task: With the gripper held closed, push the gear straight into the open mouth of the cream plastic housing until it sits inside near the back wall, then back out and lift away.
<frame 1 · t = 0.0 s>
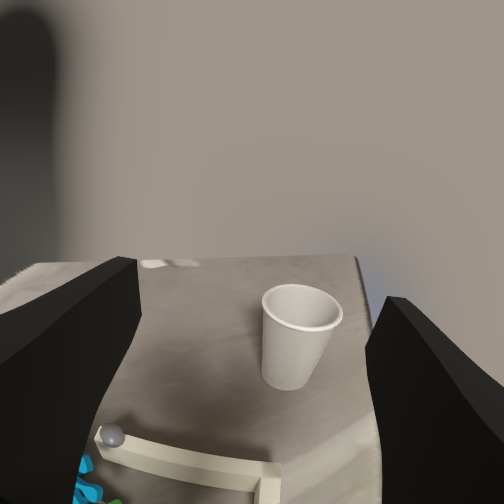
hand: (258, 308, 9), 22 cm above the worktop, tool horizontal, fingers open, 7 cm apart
gear: (69, 499, 16), on the worktop
dixie cup: (284, 374, 36), on the worktop
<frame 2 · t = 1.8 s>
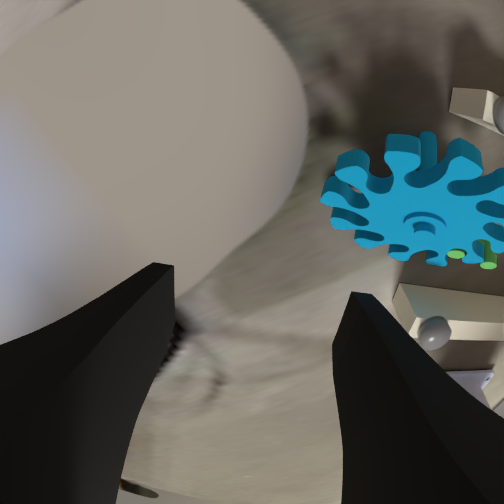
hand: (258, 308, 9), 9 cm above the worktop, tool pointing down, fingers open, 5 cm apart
gear: (405, 193, 16), on the worktop
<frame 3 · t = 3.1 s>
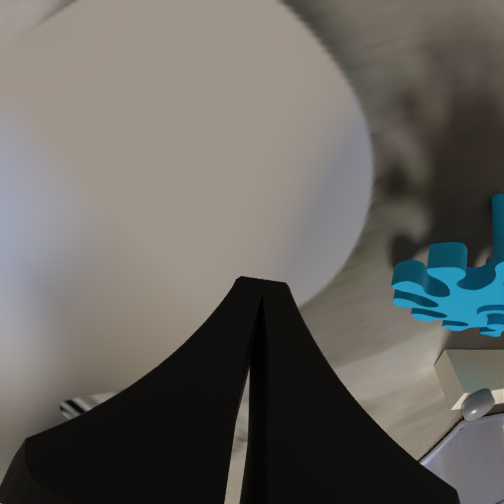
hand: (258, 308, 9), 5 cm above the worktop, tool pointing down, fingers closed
gear: (467, 258, 13), on the worktop
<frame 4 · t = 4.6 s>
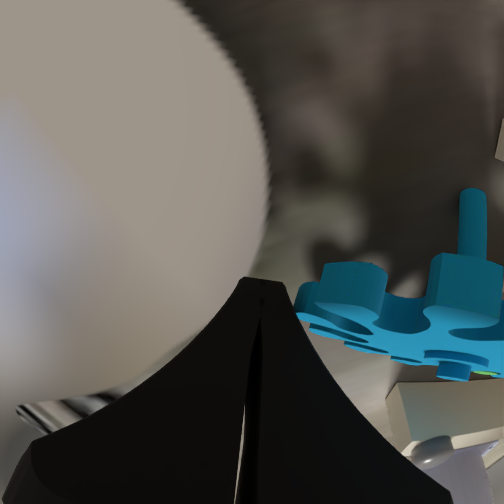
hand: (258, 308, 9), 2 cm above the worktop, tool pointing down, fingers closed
gear: (427, 274, 11), on the worktop, touching gripper
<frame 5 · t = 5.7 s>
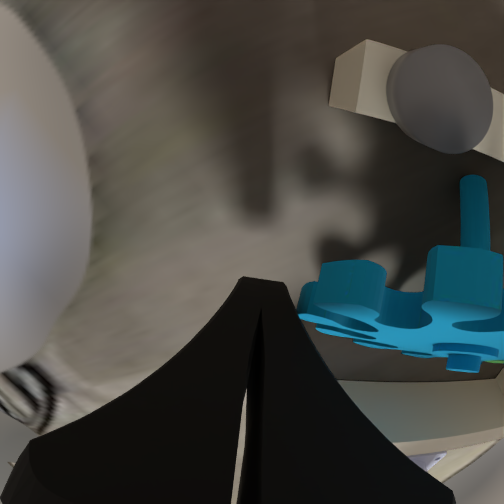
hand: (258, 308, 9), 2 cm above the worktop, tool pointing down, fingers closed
gear housing: (460, 292, 11), on the worktop
gear: (433, 266, 11), on the worktop, touching gripper
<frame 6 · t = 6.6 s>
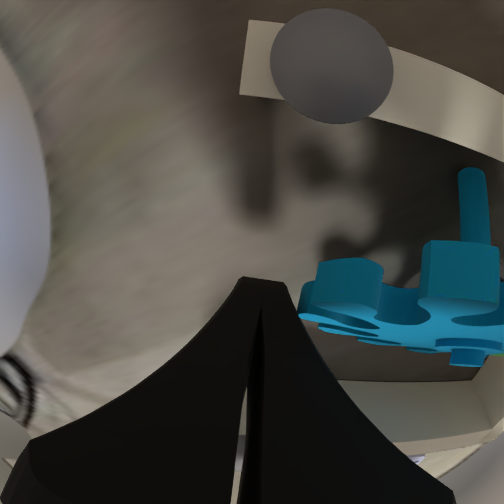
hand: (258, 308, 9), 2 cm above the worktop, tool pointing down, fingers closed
gear housing: (419, 287, 11), on the worktop
gear: (434, 260, 11), on the worktop, touching gripper
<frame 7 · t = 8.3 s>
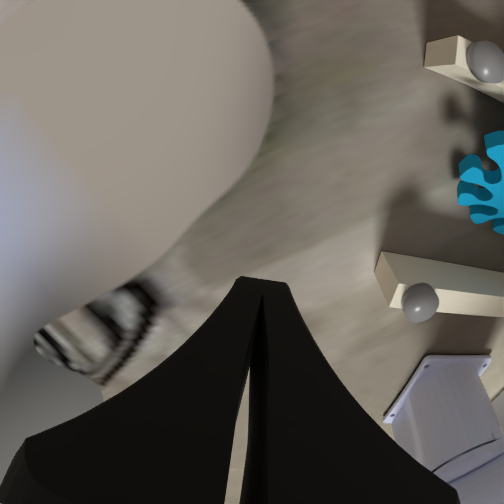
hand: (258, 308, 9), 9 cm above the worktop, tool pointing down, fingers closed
gear housing: (496, 190, 15), on the worktop
gear: (502, 172, 15), on the worktop
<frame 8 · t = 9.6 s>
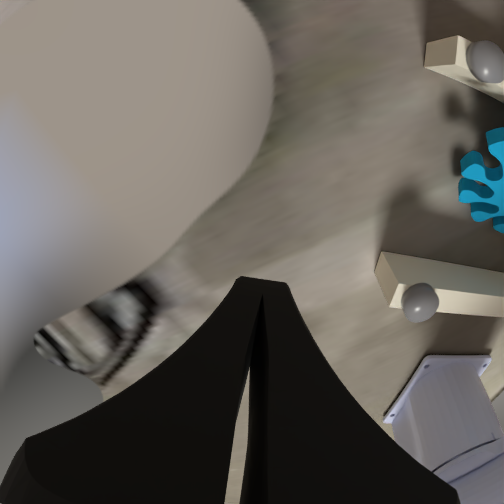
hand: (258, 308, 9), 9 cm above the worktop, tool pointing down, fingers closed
gear housing: (496, 190, 15), on the worktop
gear: (503, 171, 15), on the worktop
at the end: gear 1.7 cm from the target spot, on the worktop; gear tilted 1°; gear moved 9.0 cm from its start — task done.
